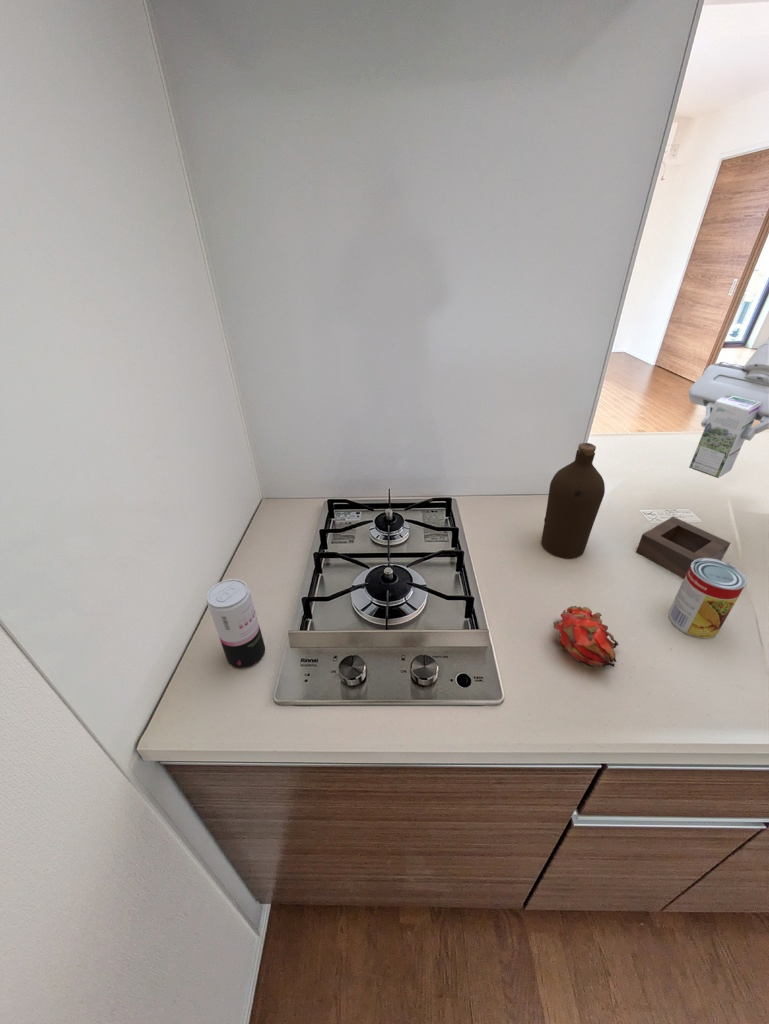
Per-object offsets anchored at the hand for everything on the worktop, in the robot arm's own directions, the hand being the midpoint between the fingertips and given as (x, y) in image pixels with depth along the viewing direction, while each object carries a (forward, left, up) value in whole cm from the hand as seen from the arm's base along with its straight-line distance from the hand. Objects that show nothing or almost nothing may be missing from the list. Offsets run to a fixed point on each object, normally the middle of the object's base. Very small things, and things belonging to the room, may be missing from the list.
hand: (724, 432), depth 84 cm
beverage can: (+67, +68, -28) cm, 99 cm away
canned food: (-2, +25, -28) cm, 37 cm away
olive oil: (+23, +12, -28) cm, 38 cm away
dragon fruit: (+15, +41, -28) cm, 51 cm away
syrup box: (0, -1, -9) cm, 9 cm away
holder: (0, +5, -27) cm, 28 cm away
